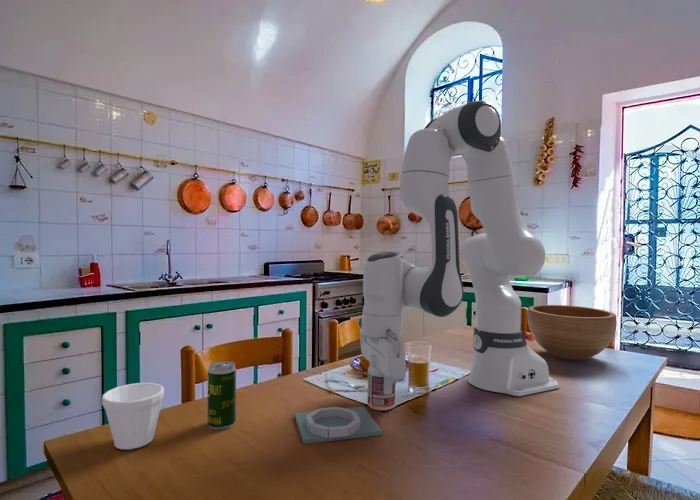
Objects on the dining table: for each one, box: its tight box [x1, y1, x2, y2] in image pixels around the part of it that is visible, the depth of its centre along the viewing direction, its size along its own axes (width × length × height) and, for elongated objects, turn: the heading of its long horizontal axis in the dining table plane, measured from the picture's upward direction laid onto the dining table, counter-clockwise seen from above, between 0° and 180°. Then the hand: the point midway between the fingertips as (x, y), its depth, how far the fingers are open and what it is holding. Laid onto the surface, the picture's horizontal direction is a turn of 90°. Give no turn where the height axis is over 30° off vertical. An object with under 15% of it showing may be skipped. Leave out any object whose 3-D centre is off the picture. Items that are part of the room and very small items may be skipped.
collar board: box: [294, 406, 383, 445], centre depth 85 cm, size 15×12×2 cm
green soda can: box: [207, 360, 237, 431], centre depth 84 cm, size 5×5×12 cm
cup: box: [101, 382, 165, 451], centre depth 77 cm, size 10×10×9 cm
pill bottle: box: [367, 354, 396, 411], centre depth 95 cm, size 6×6×11 cm
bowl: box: [527, 304, 617, 361], centre depth 136 cm, size 25×25×15 cm
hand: (381, 387), depth 95 cm, fingers closed on pill bottle, 6 cm apart
